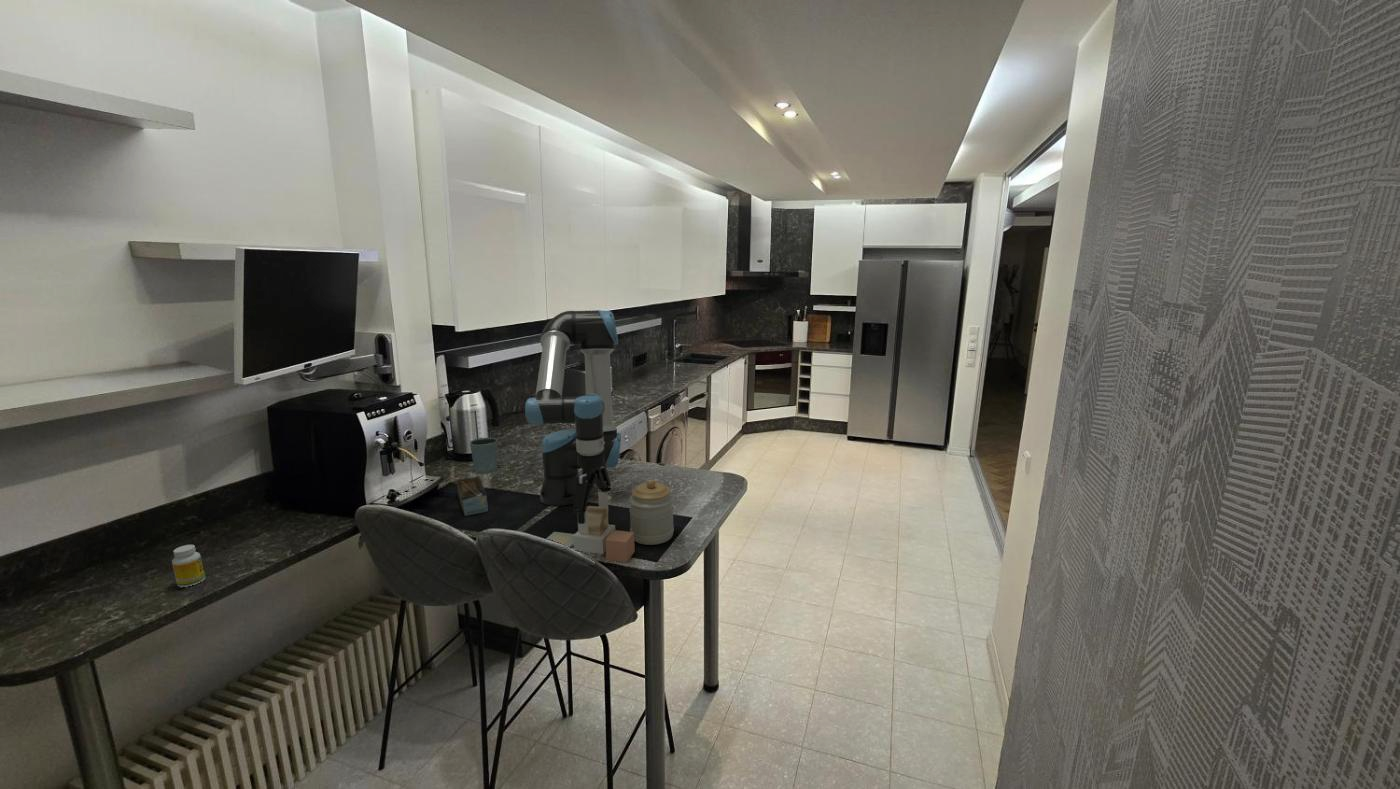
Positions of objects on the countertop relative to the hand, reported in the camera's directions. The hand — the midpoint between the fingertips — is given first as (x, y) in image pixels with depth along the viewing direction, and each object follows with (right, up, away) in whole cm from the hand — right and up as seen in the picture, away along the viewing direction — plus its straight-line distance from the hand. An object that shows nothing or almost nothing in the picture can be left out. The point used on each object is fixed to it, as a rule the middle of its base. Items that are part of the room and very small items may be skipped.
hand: (594, 522), depth 158 cm
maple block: (0, -2, +1) cm, 2 cm away
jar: (+16, -6, +7) cm, 18 cm away
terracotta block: (+8, -8, -4) cm, 13 cm away
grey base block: (0, -7, +2) cm, 7 cm away
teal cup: (-55, +7, +62) cm, 83 cm away
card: (-10, -6, +3) cm, 13 cm away
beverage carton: (-47, -1, +30) cm, 56 cm away
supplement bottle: (-100, -12, -17) cm, 102 cm away
